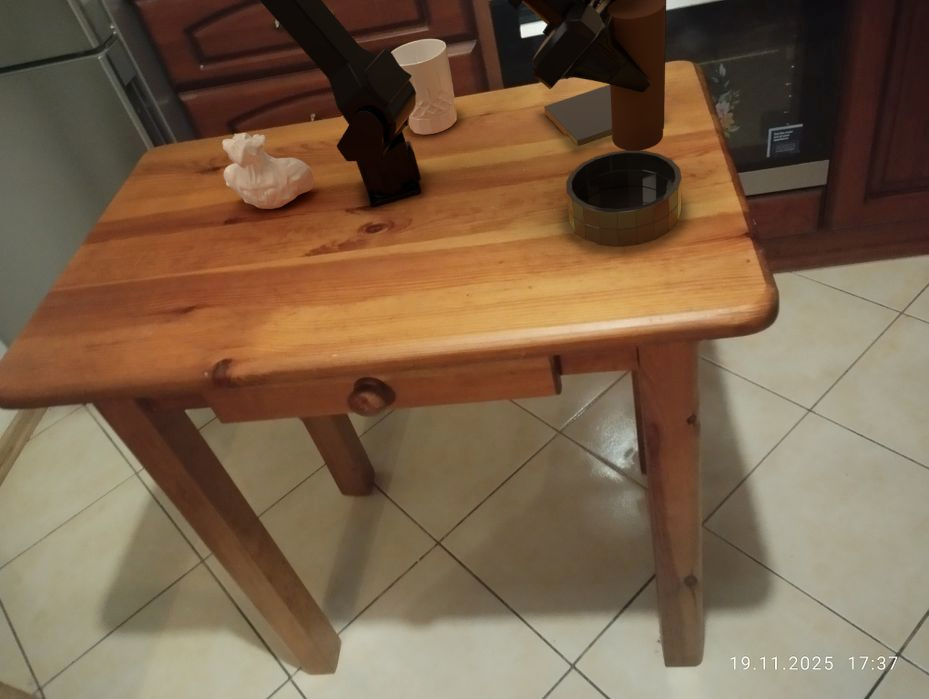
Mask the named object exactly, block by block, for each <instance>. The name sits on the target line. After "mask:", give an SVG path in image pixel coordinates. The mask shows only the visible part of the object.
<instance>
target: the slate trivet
mask: <svg viewBox="0 0 929 699" xmlns="http://www.w3.org/2000/svg"><path fill="white" fill-rule="evenodd" d="M543 109H544V115H545V116H546V117H547V118H548V119H549V120H550V121H551V123H553V124H554V125H555V127H556V128H557V129H558V130H559V131H560V132H561V133H562V134H563V135H566V136H567V138H569V139H570V140H571V141H572V142H573V143H574V144H575V145H576V146H577V147H579V146H582V145H585V144H588V143H591V142H594V141H597V140H600V139H603V138H606V137H609V136H612V117H611V94H610V84H606V85H604V86H600V87H598V88H595V89H591V90H589V91H586V92H582V93H580V94H577V95H574V96H571V97H568V98H564V99H562V100H558V101H556V102H555V101H554V102H553V103H550V104H546V105H545V106H543Z"/></svg>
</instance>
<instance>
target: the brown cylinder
mask: <svg viewBox="0 0 929 699" xmlns="http://www.w3.org/2000/svg"><path fill="white" fill-rule="evenodd" d="M611 14H613V16H614V32H615V38H616V40H617V41H618V42H619V44H620V45H621V46H622V47H623V48H624V50H625V51H626V52H627V53H628V54H629V55H630V57H631V58H632V59H633V60H634V61H635V63H636V64H637V65H638V66H639V67H640V68H641V70H642V71H643V72H644V74H645V75H646V76H647V78H648V79H649V80H650V82H651V84H650V86H649V87H648V88H647V89H646V90H645V91H644V92H638V91H634V90H630V89H626V88H622V87H618V86H614V85H610V84H609V85H610V94H611V117H612V135H611V136H612V138H611V140H612V143H613V144H614V145H615V146H616V147H617V148H619V149H620V150H623V151H624V150H629V151H639V150H644V151H646V150H649V149H651V148H653V147H656V146H657V145H658V144H659V143H660V142H661V141H662V140H663V138H664V129H665V101H666V100H665V98H666V96H665V95H666V94H665V93H666V49H667V48H666V46H667V45H666V43H667V40H666V38H667V0H616V1H614V2H613V3H611V4H610V5H609V7H608V8H607V18H608V17H609V16H610V15H611Z"/></svg>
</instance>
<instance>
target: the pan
mask: <svg viewBox="0 0 929 699" xmlns="http://www.w3.org/2000/svg"><path fill="white" fill-rule="evenodd" d="M682 189H683V176H682V171H681V168H680V166H678V164H676V162H675V161H674V160H672V158H669V157H667V156H665V155H663V154H661V153H658V152H653V151H650V150H649V151H648V150H639V151H629V150H624V149H623V150H617V151H610V152H607V153H603V154H600V155H599V154H598V155H596V156H594V157H592V158H590V159H588V160H585V161H584V162H582V163H580V164H579V165H578V166H577V167H575V168H574V169H573V170H572V171H571V172H570V174H569V176H568V177H567V179H566V181H565V193H566V200H567V201H566V202H567V210H568V221H569V224H570V226H571V228H572V230H573V231H574V232H575V234H577V235H578V236H579V237H580V238H582V239H583V240H585V241H588V242H589V243H592V244H595V245H600V246H605V247H630V246H637V245H641V244H645V243H648V242H651V241H654V240H656V239H658V238H660V237H662V236H664V235H665V234H667V233H668V232H670V231H671V230H672V229H673V228H674V227H675V225H676V224H677V223H678V221H679V219H680V215H681V213H682V192H683V191H682Z"/></svg>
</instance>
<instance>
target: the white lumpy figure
mask: <svg viewBox="0 0 929 699" xmlns="http://www.w3.org/2000/svg"><path fill="white" fill-rule="evenodd" d="M233 135H234V136H233V137H232V138H223V140H222V143H221V144H222V149H223V150H224V151H225V152H226V153H227V155H228V159H229V160H231V162H232V163H231V164H229V165H227V166H226V167H225V168H224V170H223V179H224V181H225V185H226V186H227V187H228V188H230V189H231V190H232V191H234V192H235V193H236V194H237V195H238V196H240V197H241V198H242V200H243V202H244V203H245V204H247V205H251V206H254V207H256V208H258V209H262V210H265V209H266V210H273V209H278V208H282V207H283V206H285V205H287V204H288V203H290V202H292V201H293V200H295V199H296V198H297V197H298V196H299V195H302V194H304V193H307V192H309V191H312V190H313V188H314V186H315V176H314V173H313V171H312V168H311V167H310V166H309V165H308V164H307V163H306V162H304V161H302V160H301V159H299V158H297V157H273V155H269V154H268V153H266V151H265V147H264V146H265V145H266V143H267V137H266V135H265V134H258V133H256V134H254V135H253V136H251V135H250V134H248V133H247V132H240V133H234V134H233Z"/></svg>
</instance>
